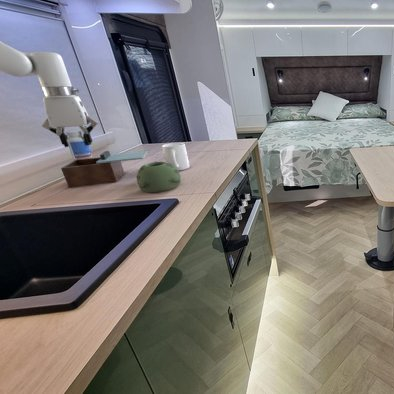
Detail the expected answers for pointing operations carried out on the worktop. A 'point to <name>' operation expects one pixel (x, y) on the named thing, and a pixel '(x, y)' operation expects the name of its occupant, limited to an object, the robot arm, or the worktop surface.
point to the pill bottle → (78, 145)
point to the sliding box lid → (121, 156)
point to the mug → (176, 155)
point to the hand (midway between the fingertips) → (78, 145)
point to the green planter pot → (158, 177)
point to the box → (91, 172)
